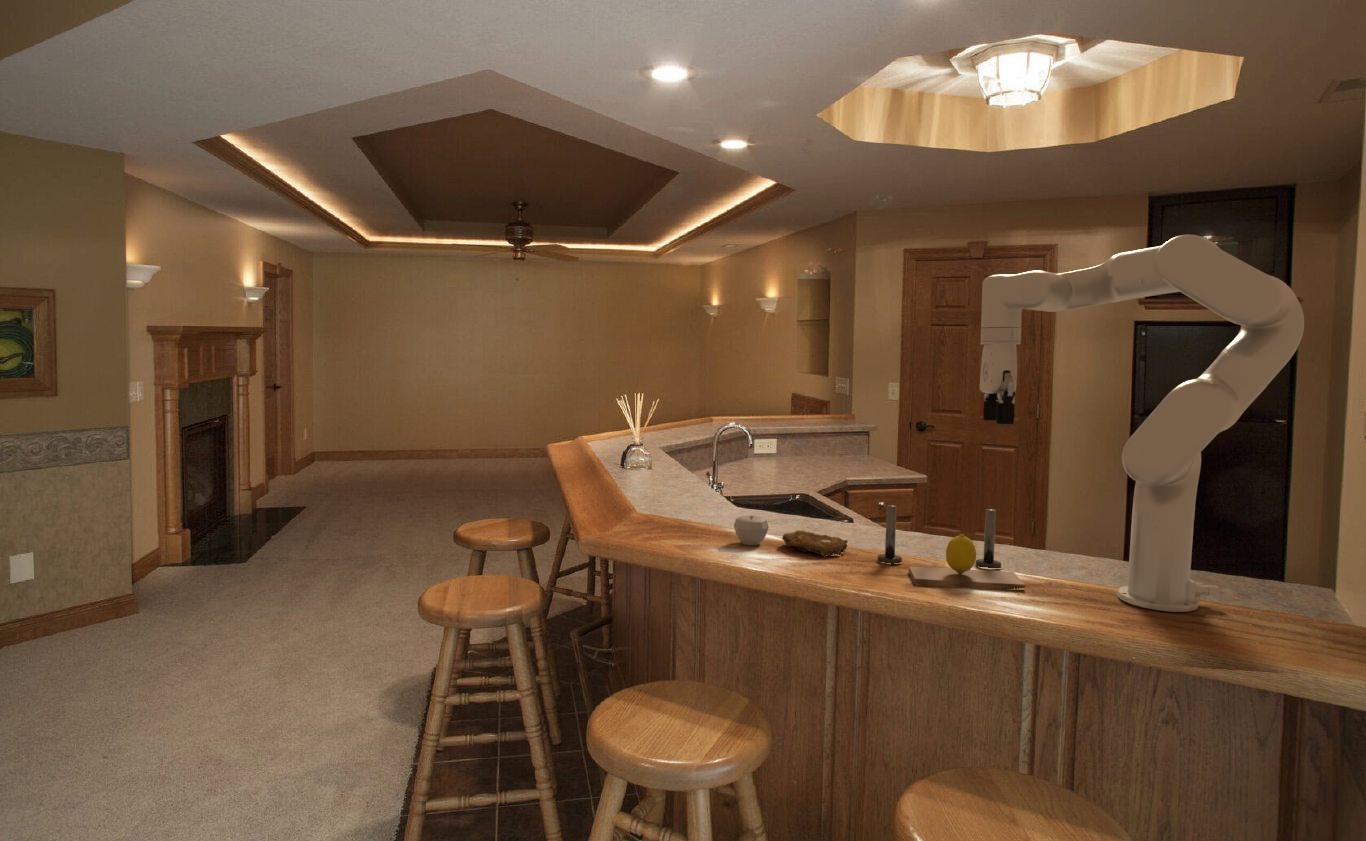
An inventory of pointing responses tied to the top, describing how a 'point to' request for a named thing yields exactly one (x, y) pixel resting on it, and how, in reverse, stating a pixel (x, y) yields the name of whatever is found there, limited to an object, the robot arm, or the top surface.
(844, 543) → the decorative rock
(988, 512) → the post arm side
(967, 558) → the lemon
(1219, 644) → the top surface
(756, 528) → the apple
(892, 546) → the post far side
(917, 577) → the walnut board
